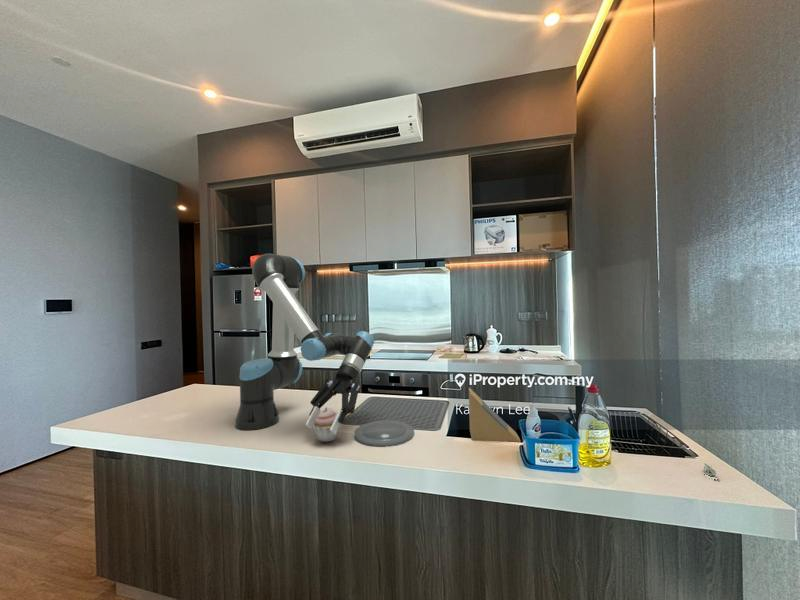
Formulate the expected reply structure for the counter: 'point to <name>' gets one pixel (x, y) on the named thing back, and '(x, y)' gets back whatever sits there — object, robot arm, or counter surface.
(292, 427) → the counter surface
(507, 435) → the sandwich container
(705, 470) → the small metal piece
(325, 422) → the cupcake
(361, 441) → the slate plate
